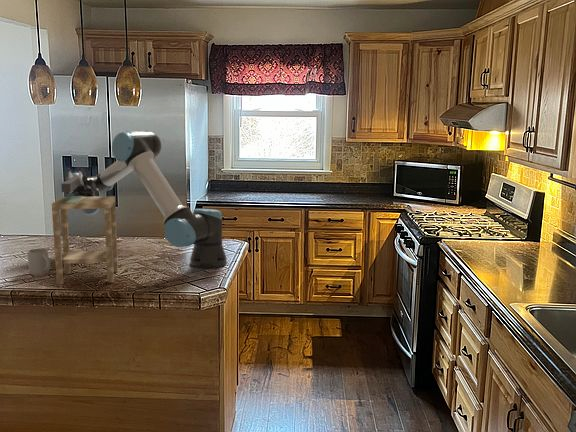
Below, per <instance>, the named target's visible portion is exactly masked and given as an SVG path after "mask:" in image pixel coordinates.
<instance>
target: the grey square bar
mask: <svg viewBox="0 0 576 432" xmlns="http://www.w3.org/2000/svg"><path fill="white" fill-rule="evenodd" d="M79 185H81V182H80V180H79V175H75V176H73V177H72V178H70V179H68V180H67V181H65V180H64V182H61V193H66V192H71V191H73V190H74V189H75V188H77V187H78V186H79Z"/></svg>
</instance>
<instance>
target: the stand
mask: <svg viewBox="0 0 576 432" xmlns="http://www.w3.org/2000/svg"><path fill="white" fill-rule="evenodd" d="M98 208H99V209H103V211H104V213H103V214H104V230H105V250H89V251H87V250H86V251H83V250H82V251H81V250H79V251H71V250H70V249H71V248H70V237H69V236H70V234H69V233H70V231H69V218H68V216H69V214H68V210H81V209H98ZM116 213H117V212H116V196H115V195H110V196H109V195H108V196H107V195H106V196H100V195H99V196H96V195H95V197H83V196H73V195H66V196H60V197H59V198H57V199H56V200H54V202H52V203H51V217H52V229H53V230H52V231H53V245H54V247H53V248H54V262H55V263H54V264H55V276H56V277H55V278H56V285H63V284H64V282H65V280H64V274H65V275H67V274H68V275H69V274H71V273H72V265H71V264H89V263H90V264H95V263H106V272H107V273H106V274H107V276H106V277H107V283H114V282H115V275H114V273H117V272H119V259H118V257H119V256H118V238H117V234H118V233H117V214H116ZM60 219H61V220H60ZM62 251H63V252H62Z"/></svg>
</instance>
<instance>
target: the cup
mask: <svg viewBox="0 0 576 432" xmlns="http://www.w3.org/2000/svg"><path fill="white" fill-rule="evenodd" d="M48 253H49V252H48V249H47V248H32V249H28V250H27V262H28V265H27V266H28V273H29V275H31V276H40V275H46V274H48V273H49V271H50V269H51V259H50V257H49V255H48Z"/></svg>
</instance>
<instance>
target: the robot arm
mask: <svg viewBox="0 0 576 432" xmlns="http://www.w3.org/2000/svg"><path fill="white" fill-rule="evenodd" d="M161 150H162V141H161V139H160V138H159V136H158V135H157V134H156V133H154V132H152V131H150V130H149V131H148V130H141V131H140V130H139V131H128V130H126V131H123V132H119V133H117V134H116V135H115V136H114V138H113V141H112V146H111V151H112V155H113V156H114V159H115V160H116V161H114V162H113V163H112V164H111V165H108V167H107V168H105V169H104V170H102V171H101V172H99V174H97V175H92V176H85V175H84V174H83V173H82V171H80V170H79V171H78V172H73V173H72V171H71V170H70V171H68V176H67V177H66V178H65V179H64V182H65V181H67V180H68V179H70V178H72V177H73V176H75V175H79V180H80V182H81V185H79V186H78V187H77V188H75V189H74V190H73V191H71V192H65V194H66V195H68V194H71V196H83V197H96V195H95V194H100V193H103V192H108V191H111V190H113V188H114V186H115V184H116V183H117V182H119V181H120V180H121V179H123V178H124V177H126V176H127V175H128V174H130V173H131V172H133V171H135V174H136V175H137V177H138V178H139V180H140V181H141V183H142V184H143V186H144V187H145V189H146V191H148V193H149V195H150V196H151V197H150V198H152V200H153V202H154V203H155V205H156V206H157V208H158V210H160V213H161V214H162V215H163V217H164V219H163V224H164V227H163V230H164V236H165V239H166V240H167V242H168V243H169V244H170V245H172V246H173V247H176V248H185V247H190V246H192V245H193V249H192V252H191V255H190V258H189V263H190V265H191V266H193V267H195V268H202V269H205V268H206V269H209V268H210V269H212V268H218V267H223V266H226V265H227V261H228V260H227V256H226V252H225V250H224V249H225V248H224V247H223V216H222V215H223V214H222V211H221V210H217V209H211V208H195V209H193V211H192V209H190V207H189V206H186V205H183V204H182V202H181V200H180V198H179V197H178V196H177V194H176V193H175V191H174V190H173V188H172V186H171V185H170V183H169V182H168V180H167V179H166V177H165V176H164V174H163V172H162V171H161V169H160V168H159V166H158V165H157V163H156V162H155V160H154V159H156V157H158V155H159V154H160V153H161ZM80 210H81V211H82V213H83V214H84V215H85V216H89V217H91V216H95V215H96V214H98V213H99V211H100V208H98V209H80Z"/></svg>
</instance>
